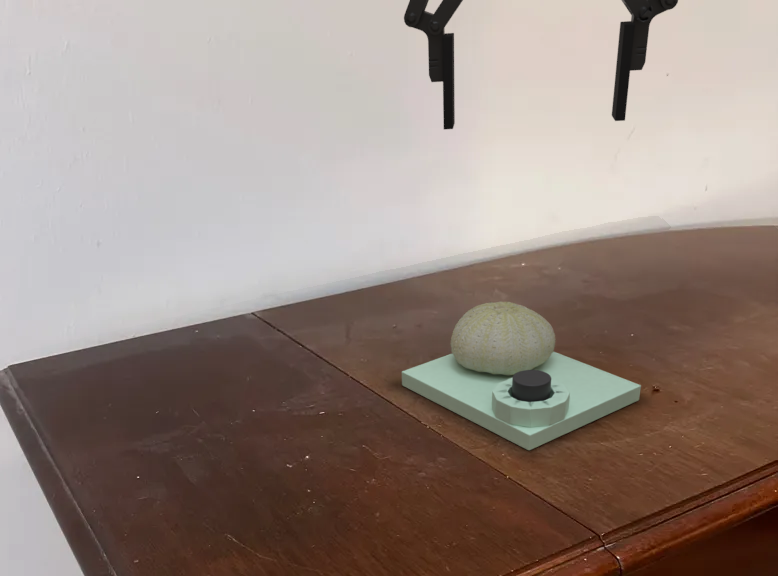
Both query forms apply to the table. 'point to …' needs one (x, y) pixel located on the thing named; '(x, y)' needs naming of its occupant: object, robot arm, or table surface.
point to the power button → (531, 386)
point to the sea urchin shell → (502, 339)
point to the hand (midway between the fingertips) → (532, 122)
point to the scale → (519, 418)
